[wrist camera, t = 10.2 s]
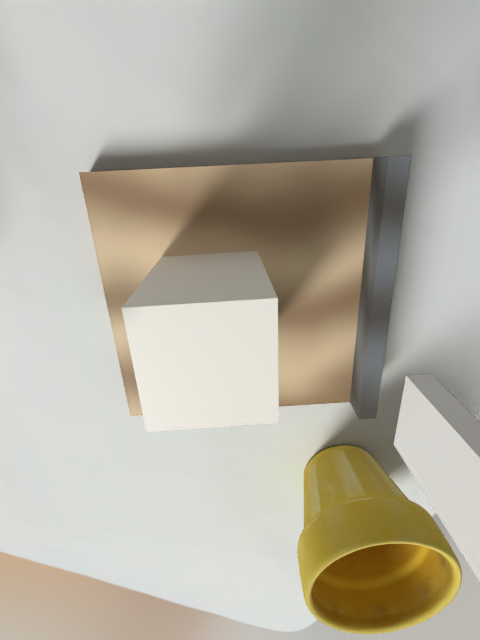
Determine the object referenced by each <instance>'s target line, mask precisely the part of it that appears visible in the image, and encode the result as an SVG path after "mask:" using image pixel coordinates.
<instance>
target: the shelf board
mask: <svg viewBox="0 0 480 640" xmlns="http://www.w3.org/2000/svg"><path fill="white" fill-rule="evenodd" d="M410 162H411V155H401V156H386V157H377V158H363V159H343V160H322V161H302V162H282V163H261V164H241V165H221V166H200V167H180V168H159V169H139V170H119V171H98V172H79V174H80V179H81V184H82V188H83V193H84V198H85V203H86V207H87V212H88V217H89V221H90V226H91V231H92V236H93V240H94V245H95V250H96V255H97V259H98V264H99V269H100V274H101V278H102V283H103V288H104V292H105V297H106V302H107V307H108V311H109V316H110V321H111V326H112V330H113V335H114V340H115V344H116V349H117V354H118V359H119V363H120V368H121V373H122V378H123V382H124V387H125V392H126V397H127V401H128V406H129V411H130V415H131V416H137V415H143V413H142V408H141V403H140V398H139V393H138V388H137V383H136V378H135V373H134V368H133V363H132V358H131V353H130V348H129V343H128V338H127V333H126V328H125V323H124V318H123V313H122V307H123V305H124V304H125V303H126V301H127V300H128V299H129V298H130V296H131V295H132V294H133V292H134V291H135V290H136V289H137V287H138V286H139V285H140V284H141V282H142V281H143V280H144V278H145V277H146V276H147V275H148V273H149V272H150V271H151V269H152V268H153V267H154V266H155V264H156V263H157V262H158V261H159V259H160V258H161V257H164V256H181V255H197V254H214V253H230V252H247V251H257V252H258V254H259V256H260V258H261V261H262V263H263V265H264V268H265V270H266V272H267V274H268V277H269V279H270V281H271V284H272V286H273V288H274V290H275V293H276V295H277V297H278V356H279V406H293V405H309V404H324V403H340V402H350V403H351V405H352V407H353V409H354V411H355V412H356V414H357V416H358V418H359V419H366V418H376V412H377V405H378V397H379V390H380V383H381V375H382V368H383V361H384V353H385V346H386V339H387V331H388V324H389V317H390V309H391V302H392V294H393V287H394V280H395V272H396V265H397V258H398V250H399V243H400V236H401V228H402V221H403V214H404V206H405V199H406V192H407V184H408V177H409V169H410Z"/></svg>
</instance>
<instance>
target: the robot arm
mask: <svg viewBox="0 0 480 640" xmlns="http://www.w3.org/2000/svg"><path fill="white" fill-rule="evenodd" d="M394 446H395V447H396V449H397V451H398V452H399V454H400V455H401V457H402V459H403V460H404V462H405V463H406V465H407V467H408V468H409V470H410V471H411V473H412V475H413V476H414V478H415V479H416V481H417V483H418V484H419V486H420V487H421V489H422V491H423V492H424V494H425V495H426V497H427V499H428V500H429V502H430V503H431V505H432V507H433V508H434V510H435V511H436V513H437V514H438V516H439V518H440V519H441V521H442V522H443V524H444V526H445V527H446V529H447V530H448V532H449V534H450V535H451V537H452V538H453V540H454V542H455V543H456V545H457V546H458V548H459V550H460V551H461V553H462V554H463V556H464V557H465V559H466V561H467V562H468V564H469V566H470V567H471V569H472V570H473V572H474V574H475V575H476V577H477V578H478V580H479V581H480V422H479V421H478V420H477V419H476V418H475V417H474V416H473V415H472V414H471V413H470V412H469V411H468V410H467V409H466V408H465V407H464V406H463V405H462V404H461V403H460V402H459V401H458V400H457V399H456V398H455V397H454V396H453V395H452V394H451V393H450V392H449V391H448V390H447V389H446V388H445V387H444V386H443V385H441V384H440V383H439V382H438V381H437V380H436V379H435V378H434V377H433V376H432V375H431V374H422V375H407V376H406V378H405V384H404V390H403V395H402V401H401V406H400V412H399V417H398V423H397V428H396V434H395V439H394Z"/></svg>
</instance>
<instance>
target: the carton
mask: <svg viewBox="0 0 480 640" xmlns="http://www.w3.org/2000/svg"><path fill="white" fill-rule="evenodd" d="M122 313H123V318H124V323H125V328H126V333H127V338H128V343H129V348H130V353H131V358H132V363H133V368H134V373H135V378H136V383H137V388H138V393H139V398H140V403H141V408H142V413H143V418H144V423H145V428H146V432H154V431H169V430H183V429H197V428H212V427H226V426H241V425H255V424H269V423H279V356H278V297H277V295H276V293H275V290H274V288H273V286H272V284H271V281H270V279H269V277H268V274H267V272H266V270H265V268H264V265H263V263H262V261H261V258H260V256H259V254H258V252H257V251H247V252H230V253H214V254H197V255H181V256H164V257H161V258H160V259H159V261H158V262H157V263H156V264H155V266H154V267H153V268H152V269H151V271H150V272H149V273H148V275H147V276H146V277H145V278H144V280H143V281H142V282H141V284H140V285H139V286H138V287H137V289H136V290H135V291H134V292H133V294H132V295H131V296H130V298H129V299H128V300H127V301H126V303H125V304H124V305H123V307H122Z"/></svg>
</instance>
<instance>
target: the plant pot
mask: <svg viewBox="0 0 480 640" xmlns="http://www.w3.org/2000/svg"><path fill="white" fill-rule="evenodd" d="M297 551H298V562H299V570H300V576H301V582H302V588H303V593H304V598H305V602H306V605H307V607H308V609H309V610H310V612H311V613H312V614H313V616H314V617H315V618H317V619H318V620H319V621H320V622H322V623H324V624H325V625H327V626H329V627H332V628H334V629H337V630H340V631H344V632H350V633H357V634H378V633H386V632H393V631H397V630H401V629H404V628H408V627H411V626H413V625H416V624H418V623H421V622H423V621H425V620H427V619H429V618H431V617H433V616H434V615H435V614H437V613H438V612H440V611H441V610H443V609H444V608H445V607H446V606H447V605H448V604H449V603H450V602H451V601H452V600H453V599H454V597H455V596H456V594H457V592H458V590H459V588H460V585H461V581H462V571H461V567H460V564H459V561H458V559H457V557H456V556H455V554H454V552H453V550H452V548H451V547H450V545H449V543H448V542H447V540H446V539H445V537H444V535H443V533H442V532H441V530H440V529H439V527H438V526H437V524H436V522H435V521H434V520H433V518H432V517H431V515H430V514H429V513H428V512H427V511H426V510H425V509H424V508H422V507H421V506H420V505H418V504H416V503H415V502H412V501H410V500H409V499H408V498H407V497H406V496H405V495H404V494H403V492H402V491H401V490H400V489H399V488H398V486H397V485H396V484H395V483H394V482H393V480H392V479H391V478H390V477H389V476H388V474H387V473H386V472H385V471H384V470H383V468H382V467H381V466H380V465H379V464H378V462H377V461H376V460H375V459H374V458H373V456H372V455H371V454H370V453H368V452H367V451H365V450H364V449H362V448H359V447H356V446H351V445H339V446H334V447H330V448H327V449H325V450H323V451H321V452H319V453H318V454H316V455H315V456H314V457H313V458H312V459H311V460H310V461H309V463H308V464H307V466H306V468H305V471H304V529H303V531H302V533H301V535H300V538H299V541H298V548H297Z"/></svg>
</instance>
